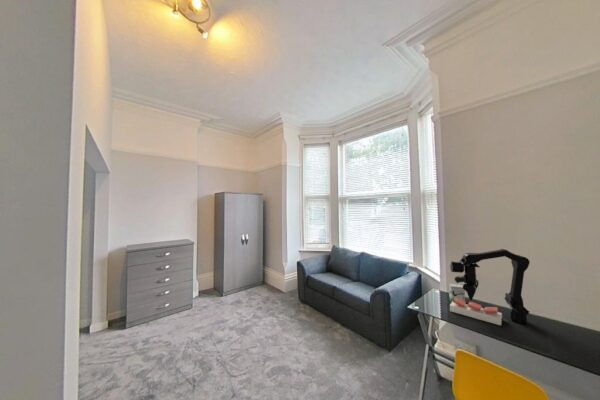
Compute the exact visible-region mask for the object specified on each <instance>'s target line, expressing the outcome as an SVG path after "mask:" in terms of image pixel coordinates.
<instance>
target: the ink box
mask: <svg viewBox="0 0 600 400" xmlns="http://www.w3.org/2000/svg"><path fill="white" fill-rule="evenodd" d="M448 297H449V299H448V300H449V301H450V302H451V303H452V301H453V300H454V299H455V297H456V298H458V299H460V300H462V301H464V302H466V291H465V290H464V289H463V285H462V284H458V283H456V284H455V283H449V284H448Z"/></svg>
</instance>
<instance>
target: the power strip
mask: <svg viewBox="0 0 600 400" xmlns="http://www.w3.org/2000/svg"><path fill="white" fill-rule="evenodd" d="M449 312H452V313H456V314H458V315H463V316H466V317H470V318H473V319H475V320H480V321H484V322H487V323H491V324H494V325H498V326H502V323H503V322H507V323H509V320H508V319H506V318H503V315H502V314H503V313H502V312H499V311H498V313H485V312H484V308H483V307H481V309H480V311H479V310H476V309H473V308H470V307H468V304H465V306H464V307H462V306H460V305H458V304H456V303H454V302H453V301H452V302H451V303H450V304H449Z"/></svg>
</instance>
